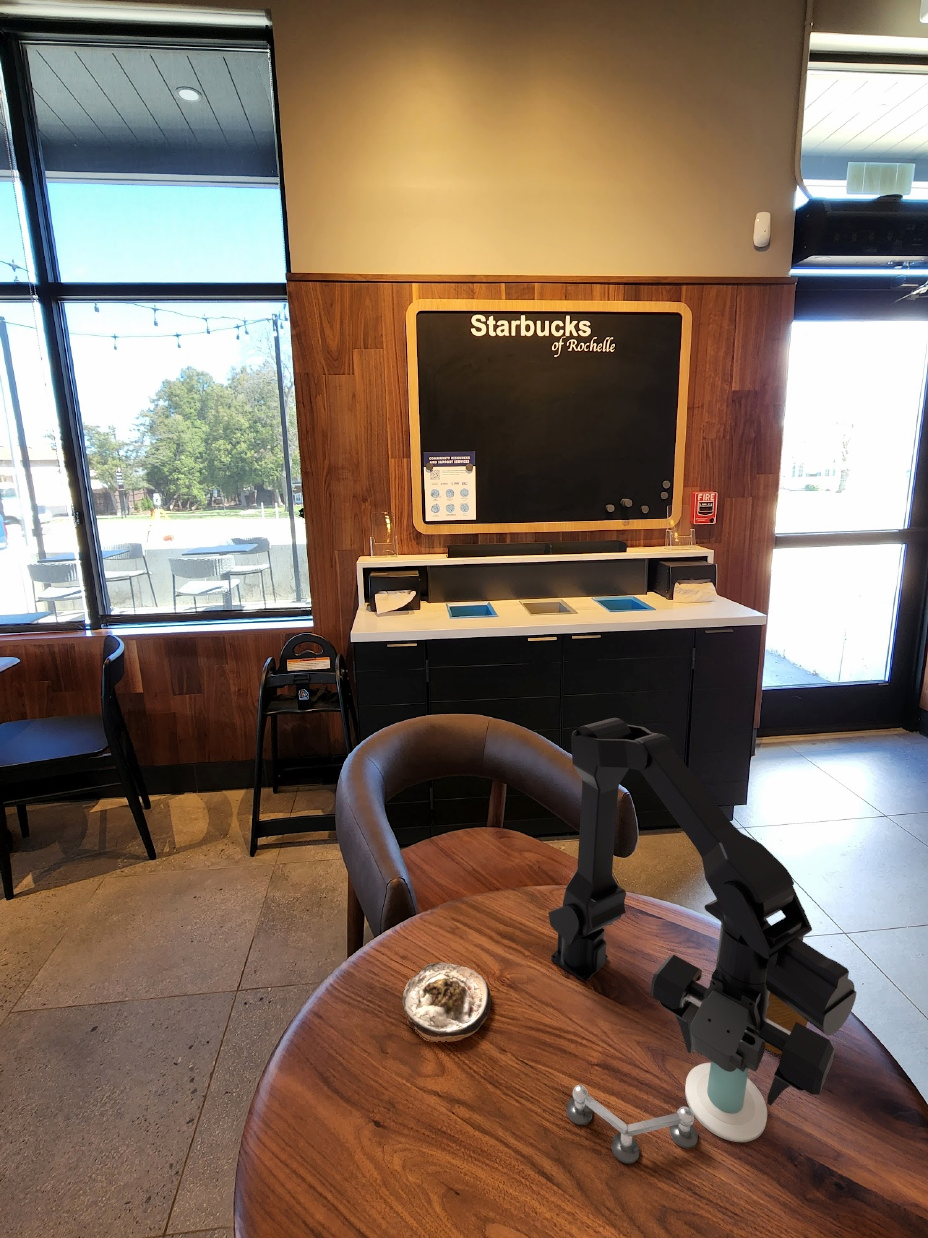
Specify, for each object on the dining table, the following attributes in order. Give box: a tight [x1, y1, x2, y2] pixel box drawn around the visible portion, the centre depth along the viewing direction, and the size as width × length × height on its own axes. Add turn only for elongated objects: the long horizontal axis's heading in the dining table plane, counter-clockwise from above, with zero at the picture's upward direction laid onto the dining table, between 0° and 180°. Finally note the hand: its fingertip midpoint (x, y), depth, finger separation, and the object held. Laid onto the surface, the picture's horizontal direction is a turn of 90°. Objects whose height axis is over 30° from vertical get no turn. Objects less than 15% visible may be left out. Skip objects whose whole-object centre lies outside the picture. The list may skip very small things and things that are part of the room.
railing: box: [566, 1084, 698, 1165], centre depth 72 cm, size 13×9×4 cm
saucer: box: [684, 1062, 768, 1143], centre depth 75 cm, size 9×9×1 cm
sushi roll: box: [401, 962, 492, 1043], centre depth 88 cm, size 15×15×4 cm
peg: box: [707, 1060, 750, 1114], centre depth 74 cm, size 4×4×7 cm
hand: (728, 1076), depth 74 cm, fingers open, 9 cm apart
